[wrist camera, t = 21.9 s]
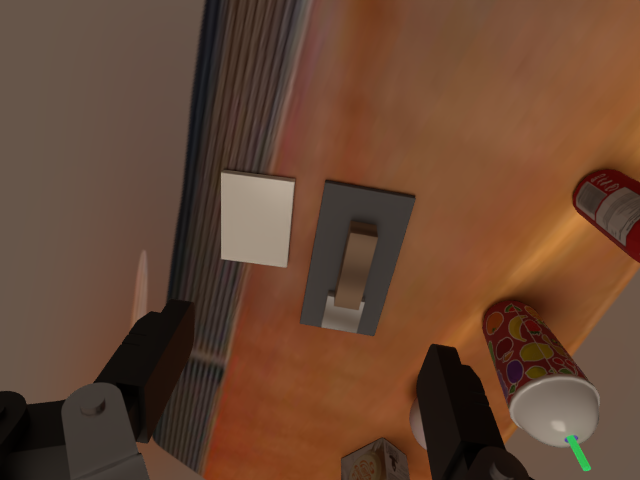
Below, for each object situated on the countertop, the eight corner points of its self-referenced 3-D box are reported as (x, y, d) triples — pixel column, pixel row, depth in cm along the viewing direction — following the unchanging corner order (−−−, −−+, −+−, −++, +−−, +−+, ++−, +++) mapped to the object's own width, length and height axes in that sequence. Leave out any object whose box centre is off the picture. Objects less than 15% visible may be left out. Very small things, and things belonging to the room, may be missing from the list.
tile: (294, 182, 44) (286, 267, 49) (296, 177, 45) (288, 260, 51) (221, 172, 44) (221, 258, 49) (225, 168, 45) (225, 252, 51)
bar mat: (414, 195, 45) (415, 198, 44) (373, 332, 55) (374, 336, 54) (325, 180, 45) (325, 182, 44) (300, 319, 54) (299, 323, 54)
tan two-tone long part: (343, 219, 46) (343, 231, 43) (383, 226, 46) (385, 238, 43) (321, 321, 53) (320, 336, 51) (356, 326, 53) (356, 342, 51)
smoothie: (544, 334, 53) (641, 490, 35) (479, 348, 55) (540, 502, 37) (537, 283, 49) (641, 429, 32) (467, 300, 51) (529, 446, 34)
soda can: (623, 210, 44) (709, 270, 34) (569, 220, 45) (636, 280, 35) (628, 162, 42) (723, 210, 31) (571, 173, 43) (644, 223, 32)
